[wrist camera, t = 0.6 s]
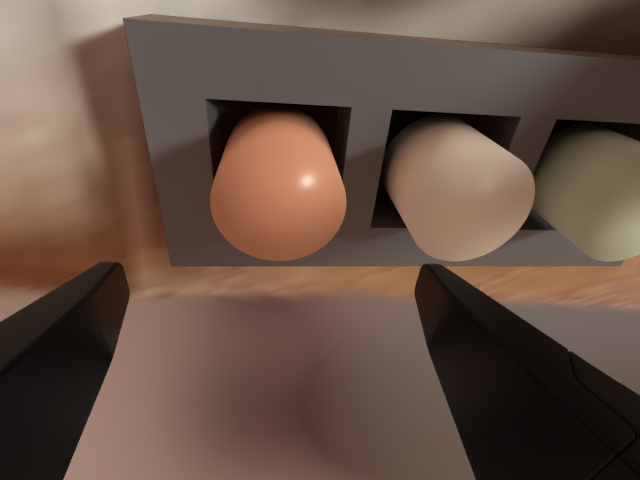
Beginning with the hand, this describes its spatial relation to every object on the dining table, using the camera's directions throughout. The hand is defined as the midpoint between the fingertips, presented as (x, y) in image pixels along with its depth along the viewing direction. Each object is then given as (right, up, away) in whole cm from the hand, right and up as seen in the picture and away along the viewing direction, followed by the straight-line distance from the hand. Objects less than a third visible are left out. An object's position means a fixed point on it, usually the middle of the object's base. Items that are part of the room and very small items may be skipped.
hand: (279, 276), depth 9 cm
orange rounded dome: (-1, +5, +7) cm, 8 cm away
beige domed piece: (+6, +4, +8) cm, 11 cm away
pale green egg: (+13, +4, +9) cm, 16 cm away
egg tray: (+6, +5, +9) cm, 12 cm away
